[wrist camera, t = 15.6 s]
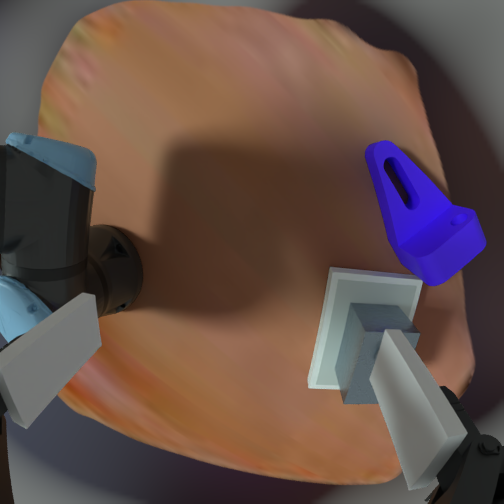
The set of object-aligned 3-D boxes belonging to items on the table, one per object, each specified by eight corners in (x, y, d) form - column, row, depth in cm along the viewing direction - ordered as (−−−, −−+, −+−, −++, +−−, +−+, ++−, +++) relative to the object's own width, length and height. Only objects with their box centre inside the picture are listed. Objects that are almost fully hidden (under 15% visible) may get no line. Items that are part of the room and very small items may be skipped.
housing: (333, 371, 47) (343, 412, 37) (350, 302, 43) (368, 336, 34) (377, 372, 46) (394, 410, 36) (398, 305, 43) (424, 337, 33)
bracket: (450, 225, 42) (492, 241, 31) (401, 263, 44) (434, 290, 33) (396, 126, 39) (432, 114, 28) (340, 164, 41) (363, 161, 30)
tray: (307, 379, 50) (308, 388, 48) (329, 266, 45) (332, 272, 43) (384, 381, 50) (388, 389, 47) (416, 275, 44) (423, 280, 42)
